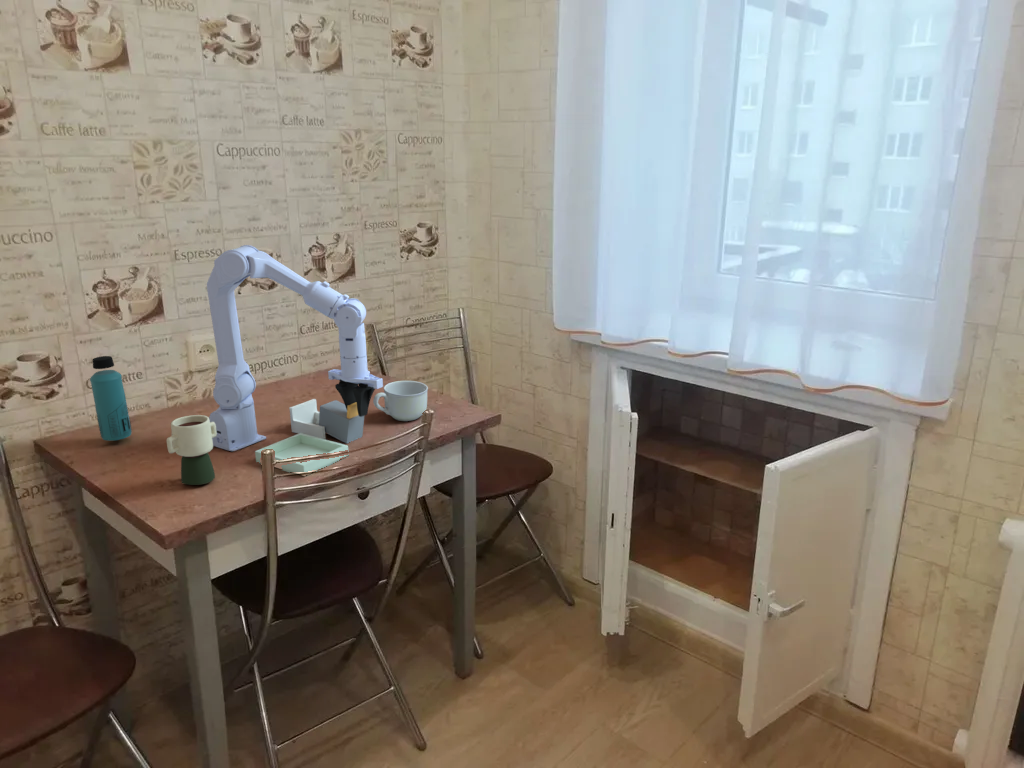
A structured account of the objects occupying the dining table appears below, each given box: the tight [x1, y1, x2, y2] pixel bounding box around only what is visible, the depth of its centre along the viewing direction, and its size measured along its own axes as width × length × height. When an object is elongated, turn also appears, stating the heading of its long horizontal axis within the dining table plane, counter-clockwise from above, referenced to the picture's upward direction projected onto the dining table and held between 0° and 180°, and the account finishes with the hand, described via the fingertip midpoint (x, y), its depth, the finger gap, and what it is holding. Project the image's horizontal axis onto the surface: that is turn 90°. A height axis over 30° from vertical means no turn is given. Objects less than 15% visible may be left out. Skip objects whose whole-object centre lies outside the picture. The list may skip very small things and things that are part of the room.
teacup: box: [372, 380, 429, 422], centre depth 181 cm, size 14×11×8 cm
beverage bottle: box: [89, 355, 133, 442], centre depth 165 cm, size 6×7×20 cm
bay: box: [288, 398, 327, 440], centre depth 173 cm, size 8×10×6 cm
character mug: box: [166, 414, 217, 486], centre depth 145 cm, size 11×7×13 cm, turn 150°
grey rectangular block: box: [319, 399, 365, 444], centre depth 168 cm, size 5×9×9 cm, turn 58°
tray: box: [254, 433, 350, 473], centre depth 157 cm, size 13×15×2 cm
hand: (357, 414), depth 165 cm, fingers open, 3 cm apart
